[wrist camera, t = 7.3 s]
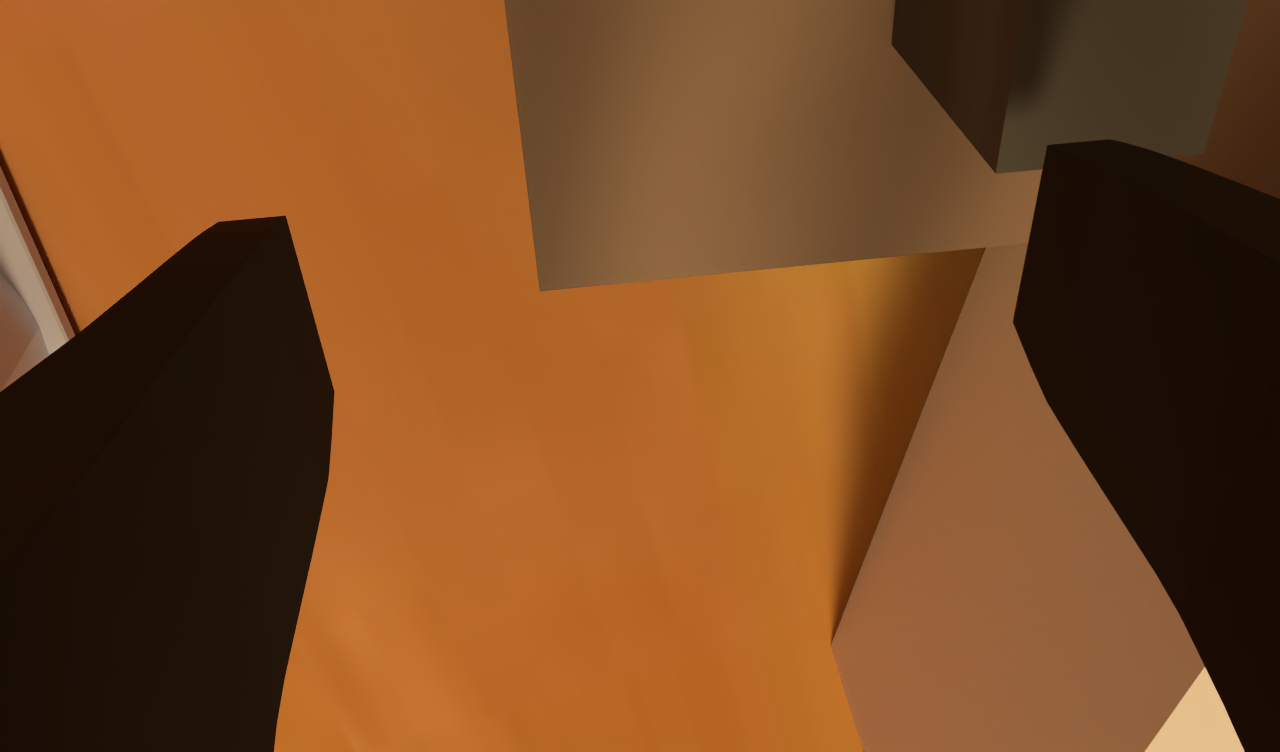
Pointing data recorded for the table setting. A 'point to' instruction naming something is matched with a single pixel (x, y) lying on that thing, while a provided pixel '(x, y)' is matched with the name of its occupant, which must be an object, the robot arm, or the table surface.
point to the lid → (858, 121)
